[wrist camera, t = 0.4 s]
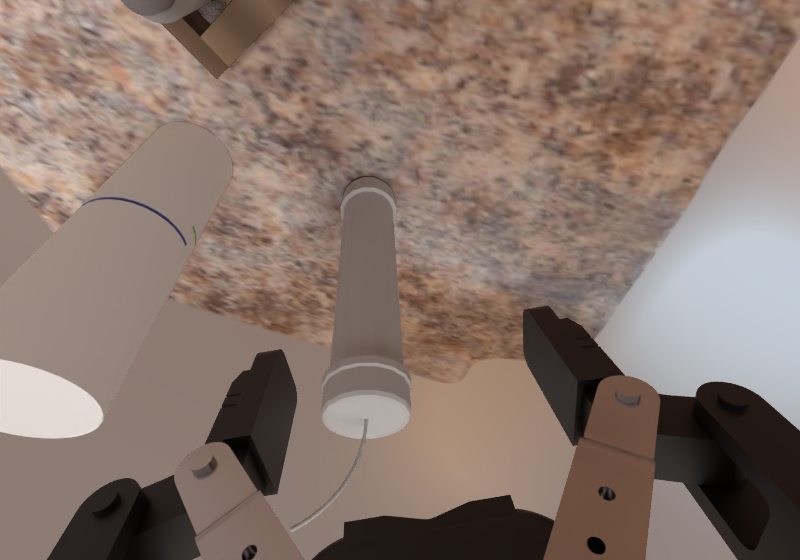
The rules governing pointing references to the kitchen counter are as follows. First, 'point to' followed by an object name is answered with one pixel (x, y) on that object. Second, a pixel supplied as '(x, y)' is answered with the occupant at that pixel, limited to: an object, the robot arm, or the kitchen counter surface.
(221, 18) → the holder
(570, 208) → the kitchen counter surface
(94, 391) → the cylindrical container
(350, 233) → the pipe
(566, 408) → the robot arm
